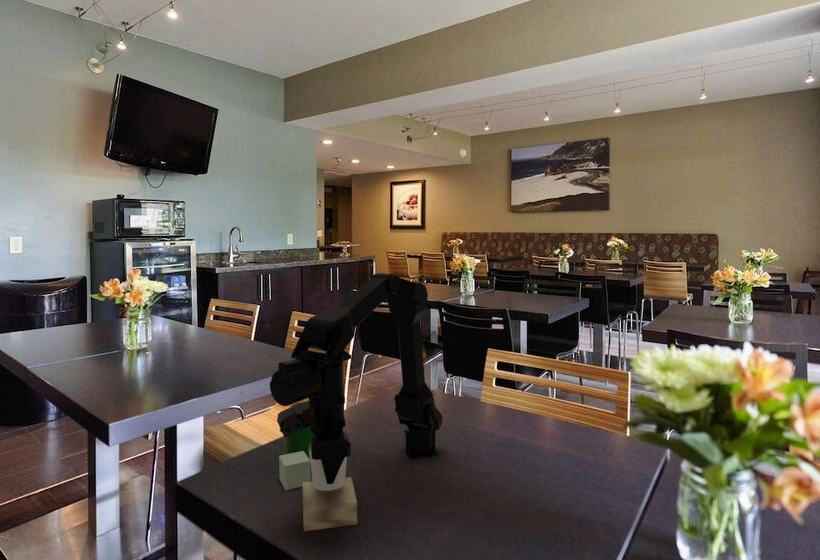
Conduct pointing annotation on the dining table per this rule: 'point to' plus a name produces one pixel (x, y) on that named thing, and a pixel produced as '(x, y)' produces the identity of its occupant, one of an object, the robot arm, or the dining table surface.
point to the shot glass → (319, 475)
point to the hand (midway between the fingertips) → (328, 474)
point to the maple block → (329, 506)
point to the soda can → (299, 440)
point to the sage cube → (294, 470)
